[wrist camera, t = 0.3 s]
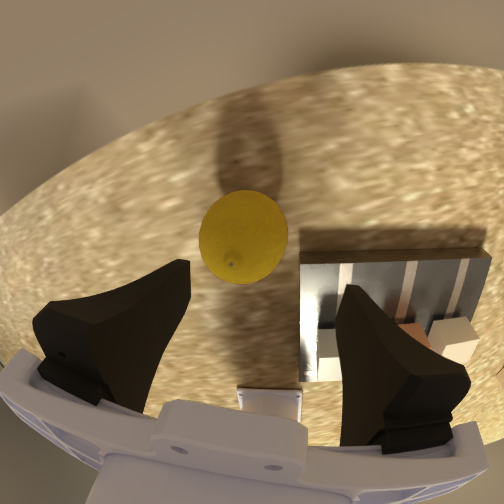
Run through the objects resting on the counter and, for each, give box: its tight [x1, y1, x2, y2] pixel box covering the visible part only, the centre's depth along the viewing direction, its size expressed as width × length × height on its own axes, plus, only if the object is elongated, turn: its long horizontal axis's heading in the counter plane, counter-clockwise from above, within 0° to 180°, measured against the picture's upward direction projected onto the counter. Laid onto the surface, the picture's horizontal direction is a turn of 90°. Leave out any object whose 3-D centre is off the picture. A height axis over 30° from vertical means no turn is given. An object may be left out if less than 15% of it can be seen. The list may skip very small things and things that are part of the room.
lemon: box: [199, 190, 288, 284], centre depth 18 cm, size 6×6×8 cm
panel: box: [299, 248, 492, 382], centre depth 23 cm, size 14×18×2 cm
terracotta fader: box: [398, 323, 432, 349], centre depth 20 cm, size 3×4×3 cm
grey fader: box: [316, 329, 342, 381], centre depth 21 cm, size 3×4×3 cm
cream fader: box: [427, 316, 480, 364], centre depth 19 cm, size 3×4×3 cm
